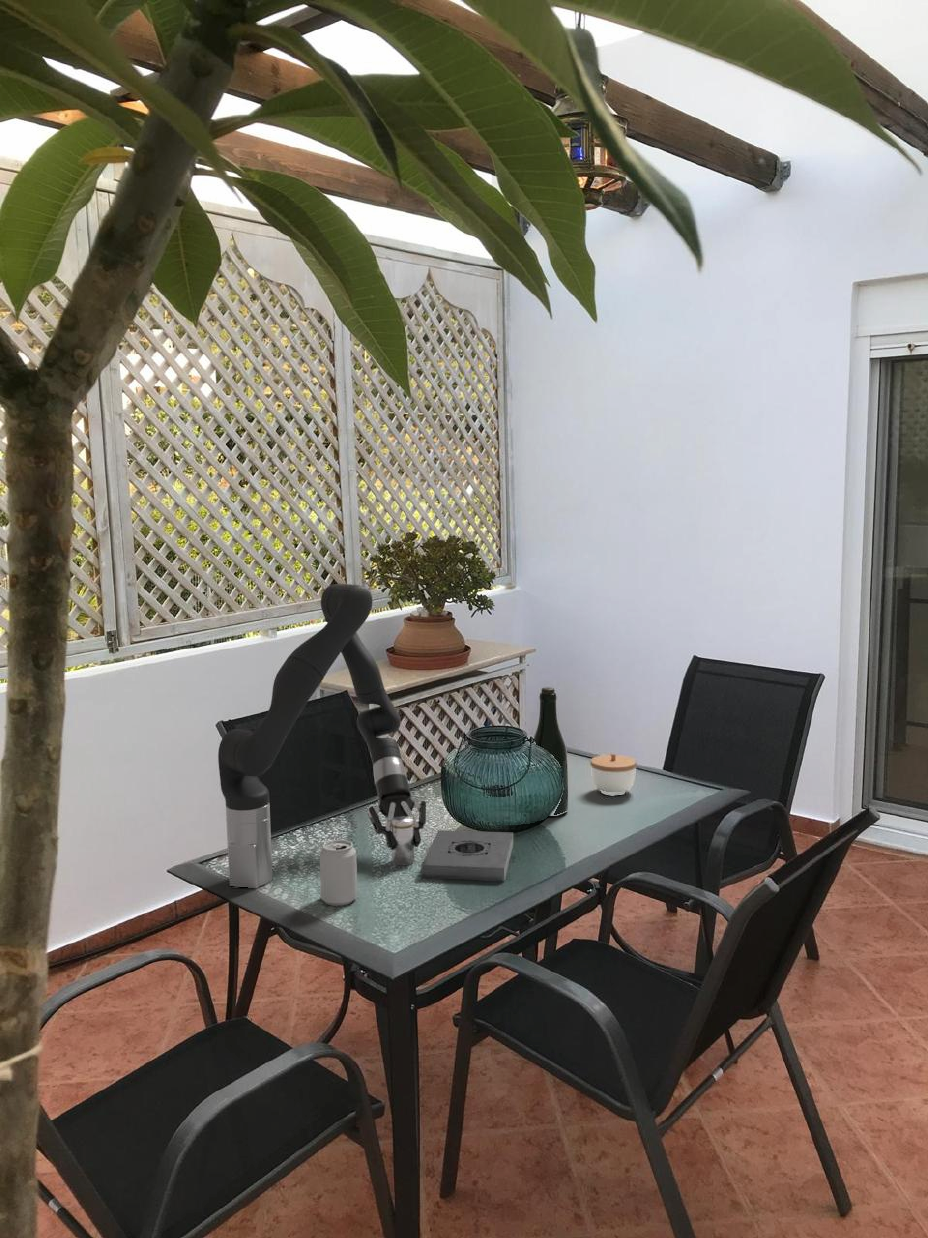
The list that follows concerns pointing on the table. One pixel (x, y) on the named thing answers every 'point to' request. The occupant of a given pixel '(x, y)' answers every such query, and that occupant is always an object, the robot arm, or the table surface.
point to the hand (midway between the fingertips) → (405, 846)
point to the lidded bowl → (613, 772)
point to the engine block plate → (468, 855)
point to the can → (338, 872)
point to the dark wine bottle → (552, 739)
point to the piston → (403, 840)
